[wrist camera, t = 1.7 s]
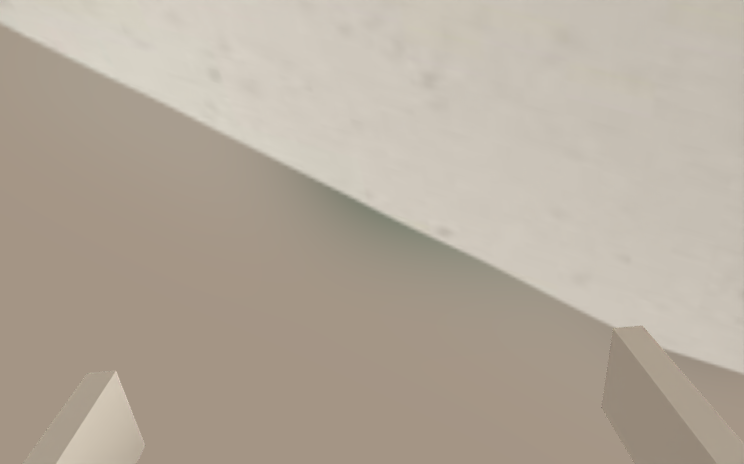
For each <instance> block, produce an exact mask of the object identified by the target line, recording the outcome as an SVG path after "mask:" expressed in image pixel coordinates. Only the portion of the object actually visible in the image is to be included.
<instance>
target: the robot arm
mask: <svg viewBox="0 0 744 464" xmlns="http://www.w3.org/2000/svg"><path fill="white" fill-rule="evenodd" d="M601 408H602V409H603V411H604V413H605V414H606V416H607V418H608V419H609V421H610V423H611V425H612V426H613V428H614V430H615V431H616V433H617V435H618V436H619V438H620V440H621V441H622V443H623V445H624V446H625V448H626V450H627V452H628V453H629V455H630V457H631V458H632V460H633V462H634V463H635V464H744V443H743V442H742V441H741V440H740V438H739V437H738V436H737V435H736V434H735V433H734V431H732V429H731V428H730V427H729V426H728V424H727V423H726V422H725V421H724V420H723V419H722V418H721V416H720V415H719V414H718V413H717V412H716V411H715V409H714V408H713V407H712V406H711V405H710V404H709V402H708V401H707V400H706V399H705V398H704V397H703V395H702V394H701V393H700V392H699V391H698V390H697V389H696V387H695V386H694V385H693V384H692V383H691V382H690V380H689V379H688V378H687V377H686V376H685V375H684V373H683V372H682V371H681V370H680V369H679V368H678V366H677V365H676V364H675V363H674V362H673V361H672V360H671V358H670V357H669V356H668V355H667V354H666V352H665V351H664V350H663V349H662V348H661V347H660V345H659V344H658V343H657V342H656V341H655V340H654V339H653V337H652V336H651V335H650V334H649V333H648V332H647V330H646V329H645V328H644V327H643V326H634V327H622V328H613V332H612V339H611V346H610V353H609V360H608V367H607V373H606V380H605V387H604V393H603V400H602V407H601ZM144 447H145V444H144V441H143V439H142V436H141V434H140V431H139V428H138V426H137V423H136V421H135V418H134V416H133V413H132V411H131V408H130V405H129V403H128V401H127V398H126V395H125V393H124V390H123V387H122V385H121V382H120V380H119V377H118V375H117V372H116V371H108V372H96V373H87V375H86V376H85V377H84V379H83V380H82V382H81V383H80V384H79V386H78V387H77V388H76V390H75V391H74V393H73V394H72V395H71V397H70V398H69V400H68V401H67V402H66V404H65V405H64V407H63V408H62V409H61V411H60V412H59V414H58V415H57V416H56V418H55V419H54V421H53V422H52V423H51V425H50V426H49V428H48V429H47V430H46V432H45V433H44V434H43V436H42V438H41V439H40V440H39V442H38V443H37V445H36V446H35V447H34V449H33V450H32V451H31V453H30V454H29V455H28V457H27V458H26V460H25V461H24V462H23V464H137V462H138V460H139V457H140V455H141V453H142V451H143V449H144Z"/></svg>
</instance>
